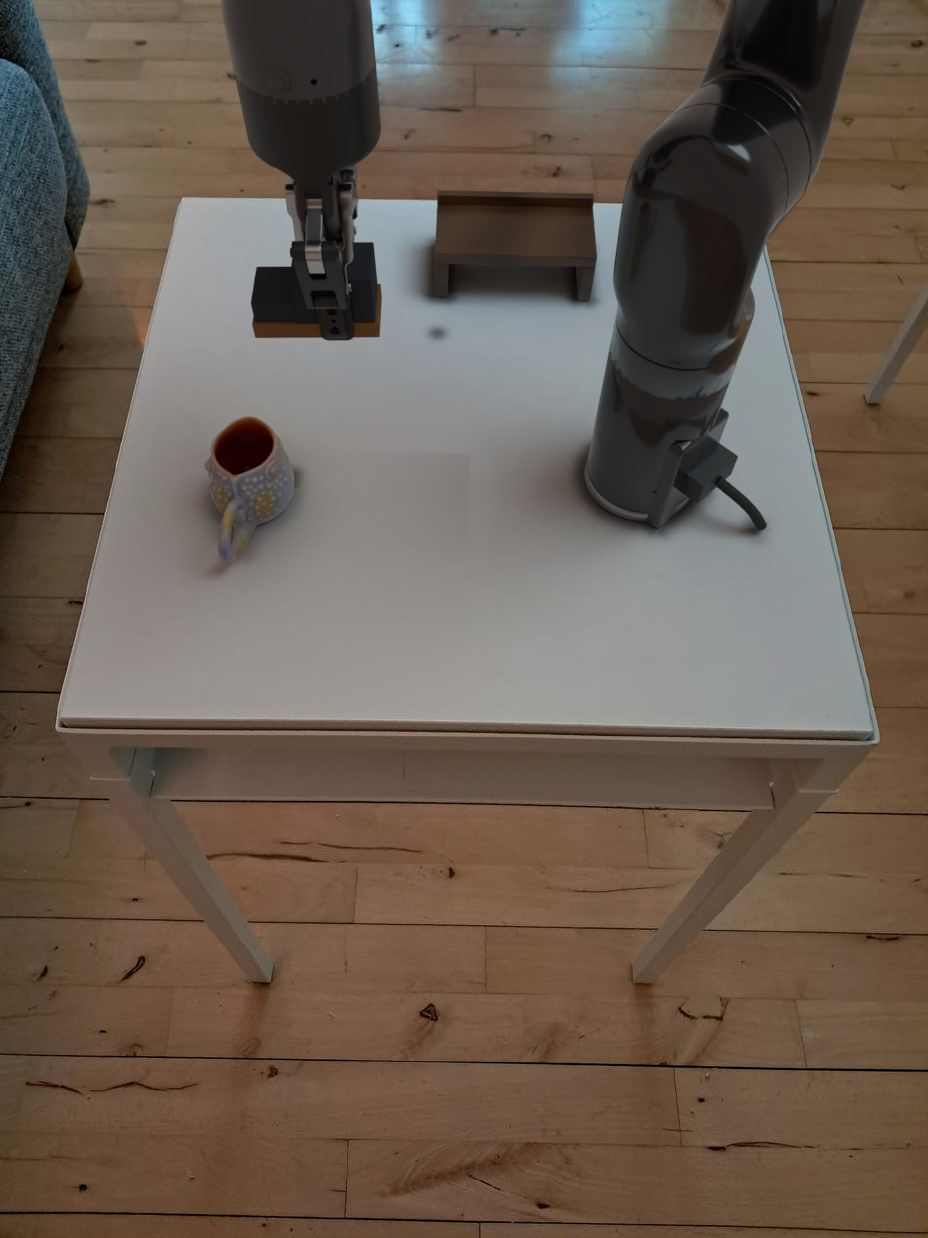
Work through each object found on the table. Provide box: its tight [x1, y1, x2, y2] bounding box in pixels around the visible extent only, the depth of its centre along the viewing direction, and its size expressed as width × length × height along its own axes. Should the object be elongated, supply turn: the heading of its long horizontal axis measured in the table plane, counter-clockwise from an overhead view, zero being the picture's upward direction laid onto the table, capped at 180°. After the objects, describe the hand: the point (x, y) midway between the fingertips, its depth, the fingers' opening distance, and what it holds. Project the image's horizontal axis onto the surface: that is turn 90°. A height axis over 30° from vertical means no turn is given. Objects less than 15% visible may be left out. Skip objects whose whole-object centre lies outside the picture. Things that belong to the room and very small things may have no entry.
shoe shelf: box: [434, 189, 598, 302], centre depth 92 cm, size 15×8×6 cm, turn 89°
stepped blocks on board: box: [250, 241, 383, 339], centre depth 62 cm, size 8×4×5 cm, turn 90°
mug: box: [203, 415, 295, 563], centre depth 75 cm, size 12×7×7 cm, turn 170°
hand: (340, 311), depth 64 cm, fingers closed on stepped blocks on board, 4 cm apart
